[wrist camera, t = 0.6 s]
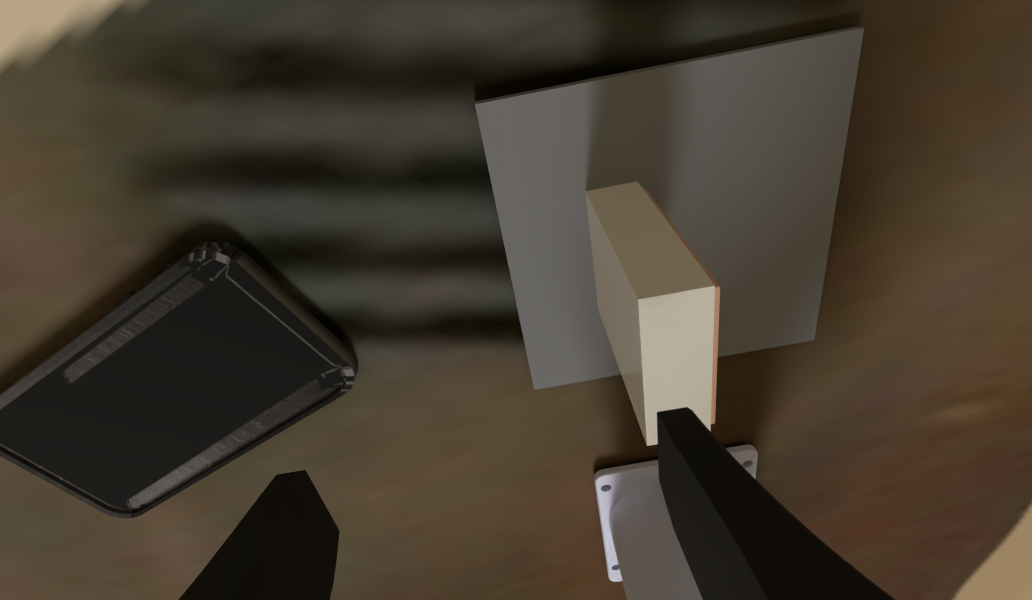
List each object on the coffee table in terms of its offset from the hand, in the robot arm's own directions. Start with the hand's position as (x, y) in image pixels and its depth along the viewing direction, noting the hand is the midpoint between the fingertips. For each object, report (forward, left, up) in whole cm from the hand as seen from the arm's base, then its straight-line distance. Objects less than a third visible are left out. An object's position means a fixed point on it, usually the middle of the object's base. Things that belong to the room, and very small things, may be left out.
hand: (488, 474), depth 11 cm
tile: (-1, -5, -10) cm, 11 cm away
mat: (-1, -7, -10) cm, 12 cm away
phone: (-4, +14, -11) cm, 18 cm away
